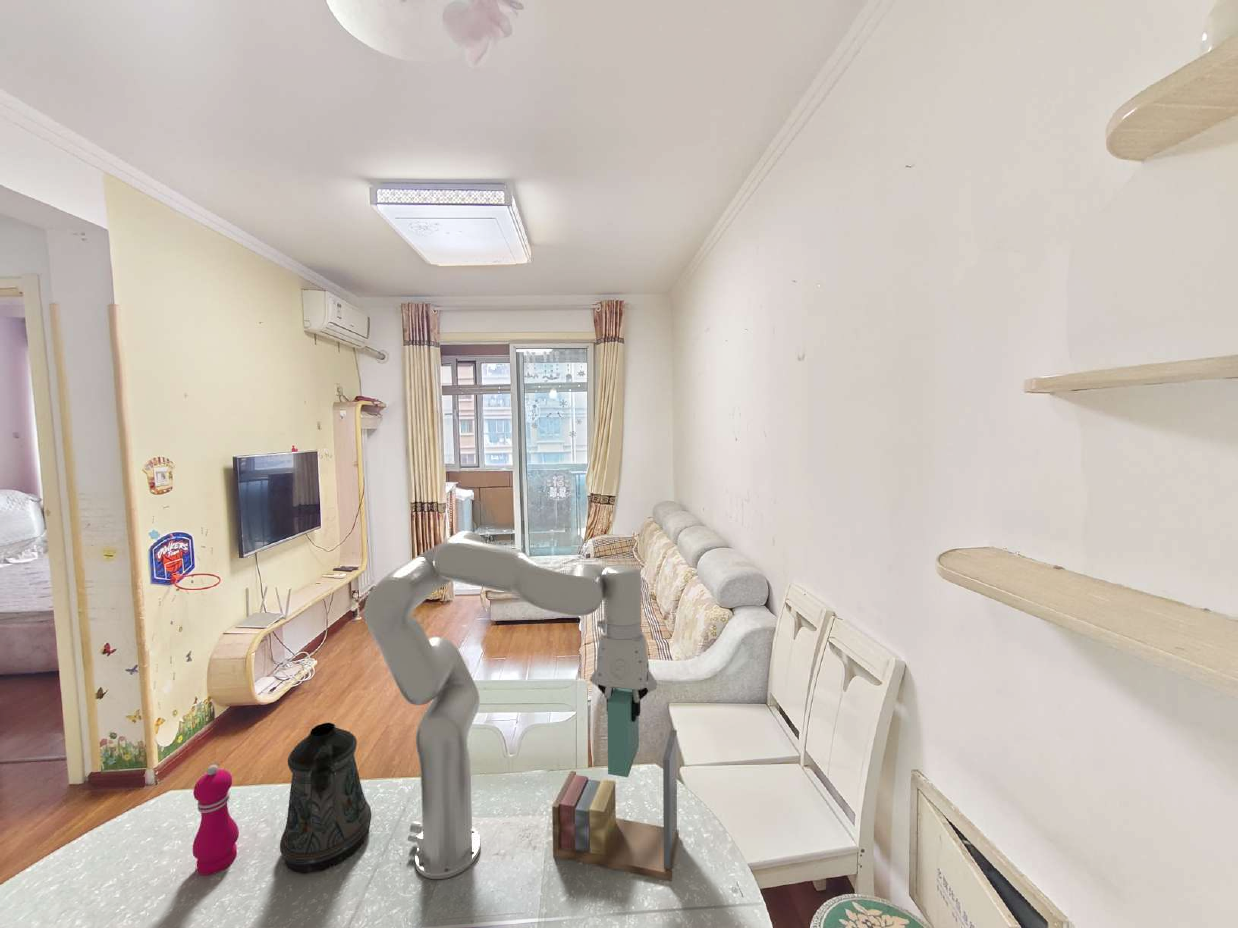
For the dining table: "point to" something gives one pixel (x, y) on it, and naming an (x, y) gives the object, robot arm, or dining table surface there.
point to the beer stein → (324, 802)
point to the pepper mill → (214, 823)
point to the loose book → (621, 733)
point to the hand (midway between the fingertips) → (623, 715)
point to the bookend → (670, 798)
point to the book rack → (605, 831)
